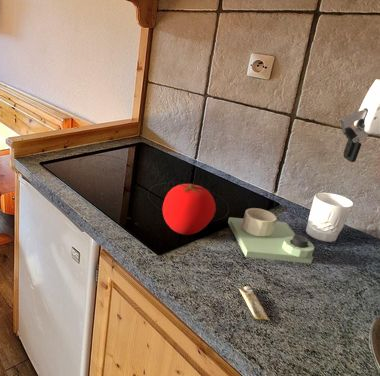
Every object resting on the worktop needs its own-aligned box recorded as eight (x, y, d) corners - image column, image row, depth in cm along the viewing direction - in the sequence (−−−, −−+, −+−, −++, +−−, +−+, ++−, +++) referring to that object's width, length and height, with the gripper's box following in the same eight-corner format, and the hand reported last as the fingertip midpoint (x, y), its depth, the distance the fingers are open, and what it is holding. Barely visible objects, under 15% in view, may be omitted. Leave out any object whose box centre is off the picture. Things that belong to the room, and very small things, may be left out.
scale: (286, 228, 105) (289, 216, 103) (314, 265, 90) (319, 252, 89) (227, 222, 107) (230, 211, 105) (246, 258, 92) (249, 245, 90)
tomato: (158, 237, 99) (166, 191, 94) (160, 215, 109) (167, 172, 104) (211, 246, 96) (222, 199, 91) (208, 223, 106) (218, 179, 101)
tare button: (303, 242, 93) (305, 235, 92) (308, 249, 90) (311, 242, 90) (289, 240, 93) (291, 234, 93) (294, 247, 91) (296, 241, 90)
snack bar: (272, 321, 73) (257, 315, 73) (267, 326, 74) (252, 321, 73) (251, 286, 81) (238, 281, 81) (247, 291, 82) (234, 286, 82)
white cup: (343, 245, 98) (358, 209, 93) (306, 239, 100) (319, 203, 96) (334, 230, 104) (347, 195, 100) (299, 224, 107) (311, 190, 102)
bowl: (266, 225, 103) (270, 209, 101) (275, 239, 96) (280, 222, 95) (238, 222, 103) (242, 207, 102) (245, 236, 97) (250, 220, 95)
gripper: (446, 73, 76) (410, 158, 84) (347, 69, 79) (320, 152, 86) (478, 80, 70) (436, 172, 77) (369, 75, 72) (337, 165, 79)
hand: (374, 161), depth 81 cm, fingers open, 9 cm apart
